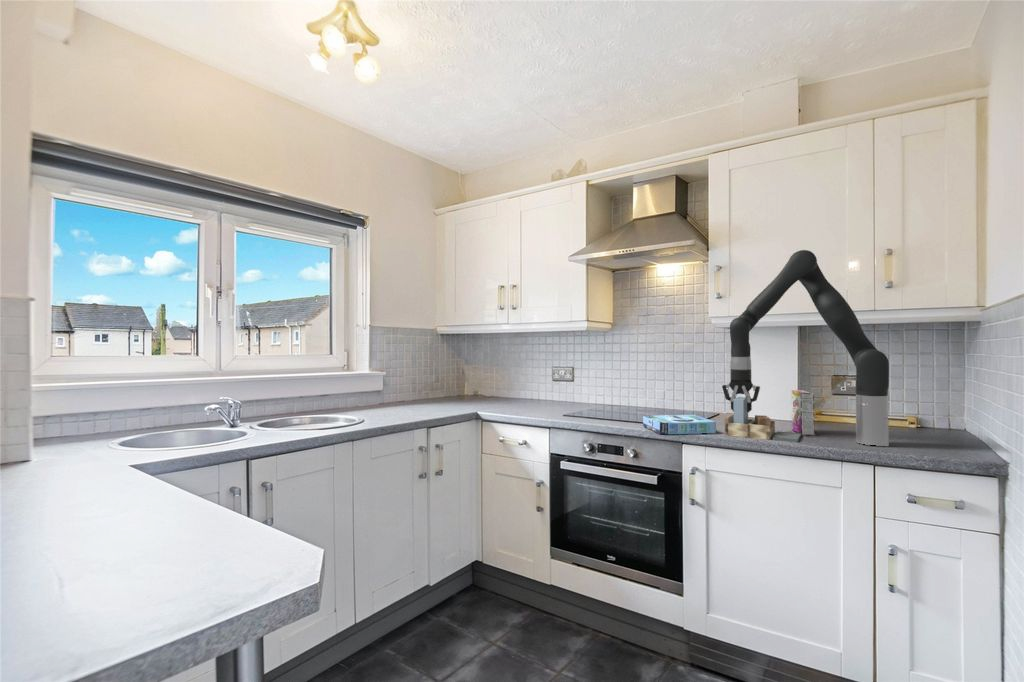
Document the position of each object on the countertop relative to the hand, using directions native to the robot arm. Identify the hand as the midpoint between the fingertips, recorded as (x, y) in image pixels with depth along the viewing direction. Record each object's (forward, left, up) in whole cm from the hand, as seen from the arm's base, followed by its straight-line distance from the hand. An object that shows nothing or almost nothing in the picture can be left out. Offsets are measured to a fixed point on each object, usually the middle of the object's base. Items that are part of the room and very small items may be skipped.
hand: (741, 411), depth 198 cm
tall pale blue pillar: (0, 0, -9) cm, 9 cm away
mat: (-16, 0, -9) cm, 18 cm away
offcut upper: (-8, 0, -5) cm, 9 cm away
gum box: (+14, -2, -6) cm, 16 cm away
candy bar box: (-20, -15, -9) cm, 27 cm away
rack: (-3, 0, -9) cm, 9 cm away
